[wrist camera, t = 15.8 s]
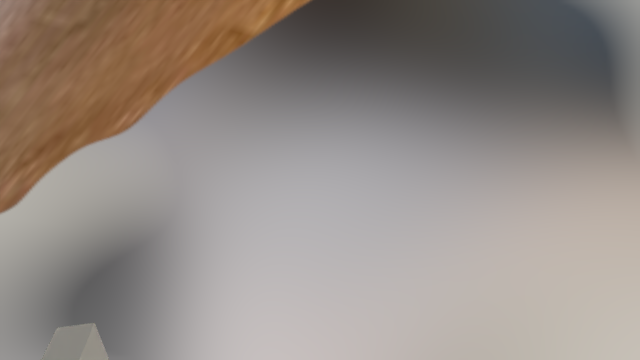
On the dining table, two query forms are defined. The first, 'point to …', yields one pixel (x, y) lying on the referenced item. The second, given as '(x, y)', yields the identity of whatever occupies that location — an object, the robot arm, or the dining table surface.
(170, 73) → the dining table surface
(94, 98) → the dining table surface
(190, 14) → the dining table surface
